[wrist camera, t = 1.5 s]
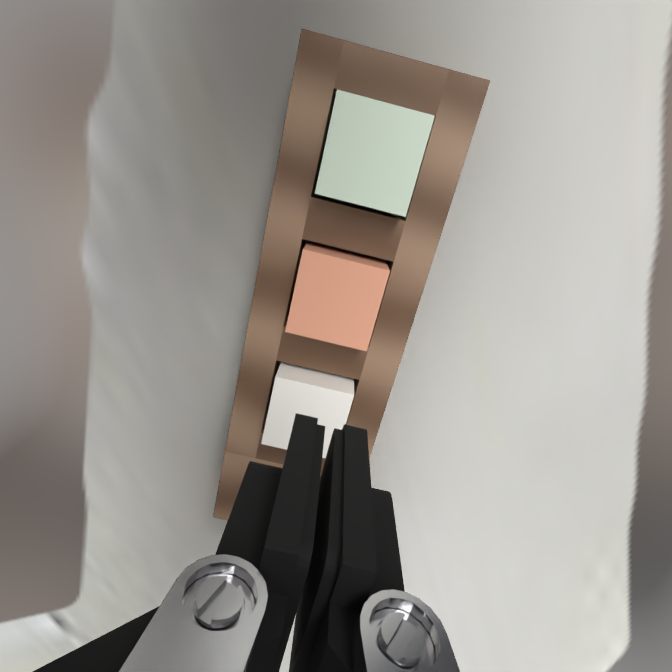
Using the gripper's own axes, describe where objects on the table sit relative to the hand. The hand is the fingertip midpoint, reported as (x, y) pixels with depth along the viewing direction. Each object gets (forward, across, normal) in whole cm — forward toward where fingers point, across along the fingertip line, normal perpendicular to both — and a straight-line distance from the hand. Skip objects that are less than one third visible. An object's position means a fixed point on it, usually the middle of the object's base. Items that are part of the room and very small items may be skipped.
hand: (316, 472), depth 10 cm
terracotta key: (+19, 0, 0) cm, 19 cm away
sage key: (+18, 0, -8) cm, 20 cm away
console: (+21, 0, +3) cm, 21 cm away
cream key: (+19, 0, +8) cm, 20 cm away
